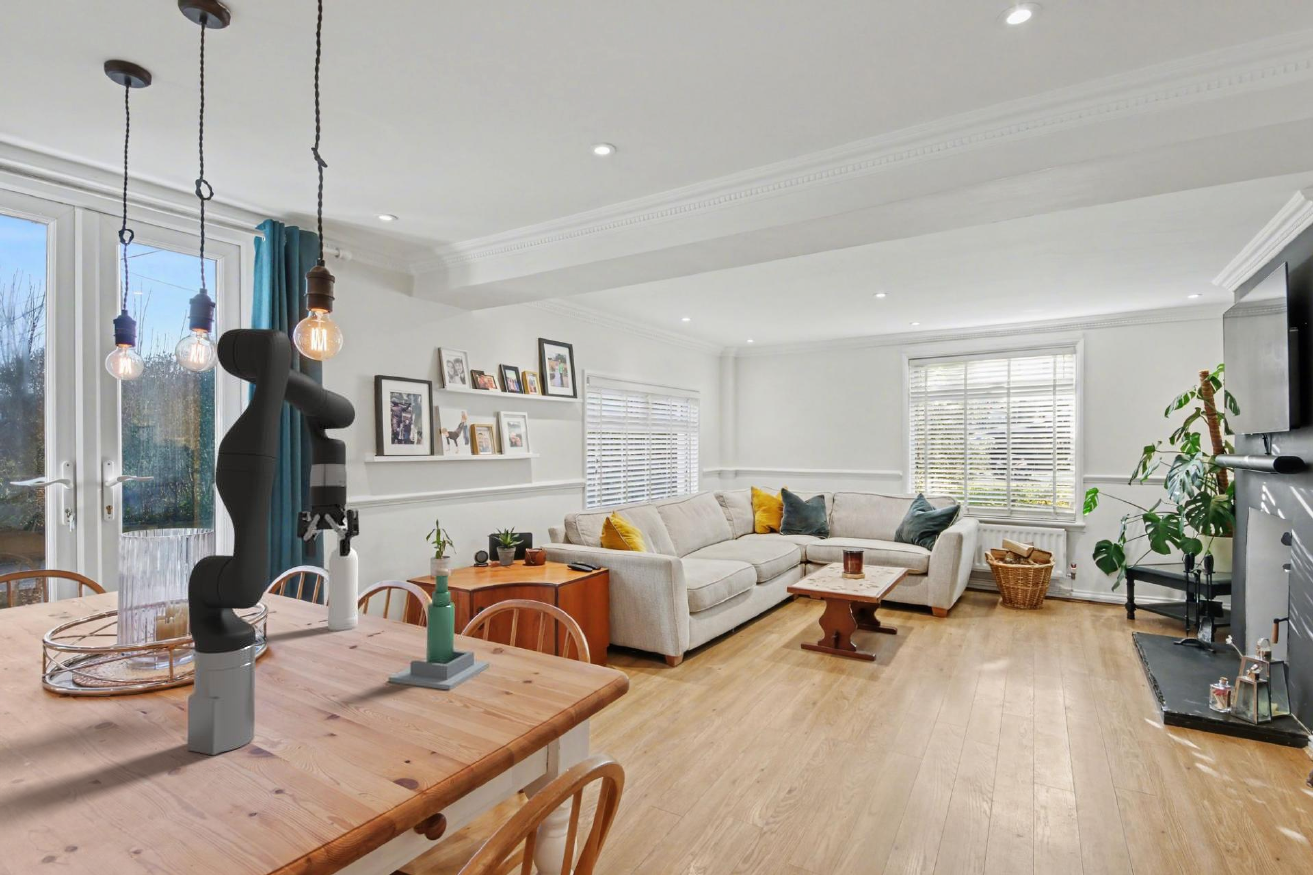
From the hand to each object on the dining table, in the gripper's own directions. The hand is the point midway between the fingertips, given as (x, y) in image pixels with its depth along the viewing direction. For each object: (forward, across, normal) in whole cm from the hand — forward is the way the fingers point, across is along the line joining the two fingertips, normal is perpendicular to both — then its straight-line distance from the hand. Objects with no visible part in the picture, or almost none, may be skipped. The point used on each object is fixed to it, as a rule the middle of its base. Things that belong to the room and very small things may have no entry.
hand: (327, 556), depth 154 cm
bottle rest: (+28, +21, +12) cm, 37 cm away
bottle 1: (+22, -26, +41) cm, 54 cm away
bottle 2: (+27, +21, +12) cm, 36 cm away
